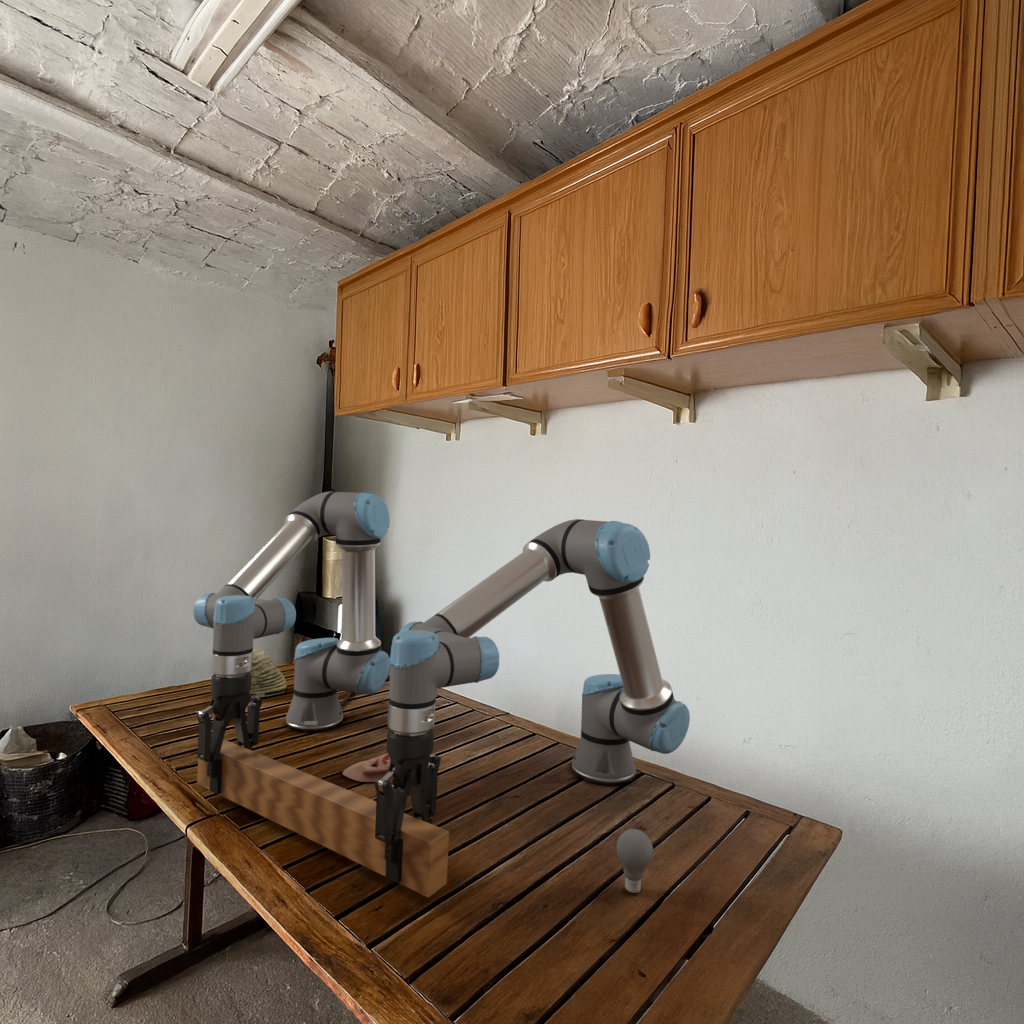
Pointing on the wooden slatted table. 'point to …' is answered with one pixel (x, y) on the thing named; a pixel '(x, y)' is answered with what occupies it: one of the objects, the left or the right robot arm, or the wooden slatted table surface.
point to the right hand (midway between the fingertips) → (404, 870)
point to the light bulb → (634, 857)
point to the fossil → (265, 676)
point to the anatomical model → (369, 769)
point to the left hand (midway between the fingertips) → (227, 786)
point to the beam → (329, 816)
